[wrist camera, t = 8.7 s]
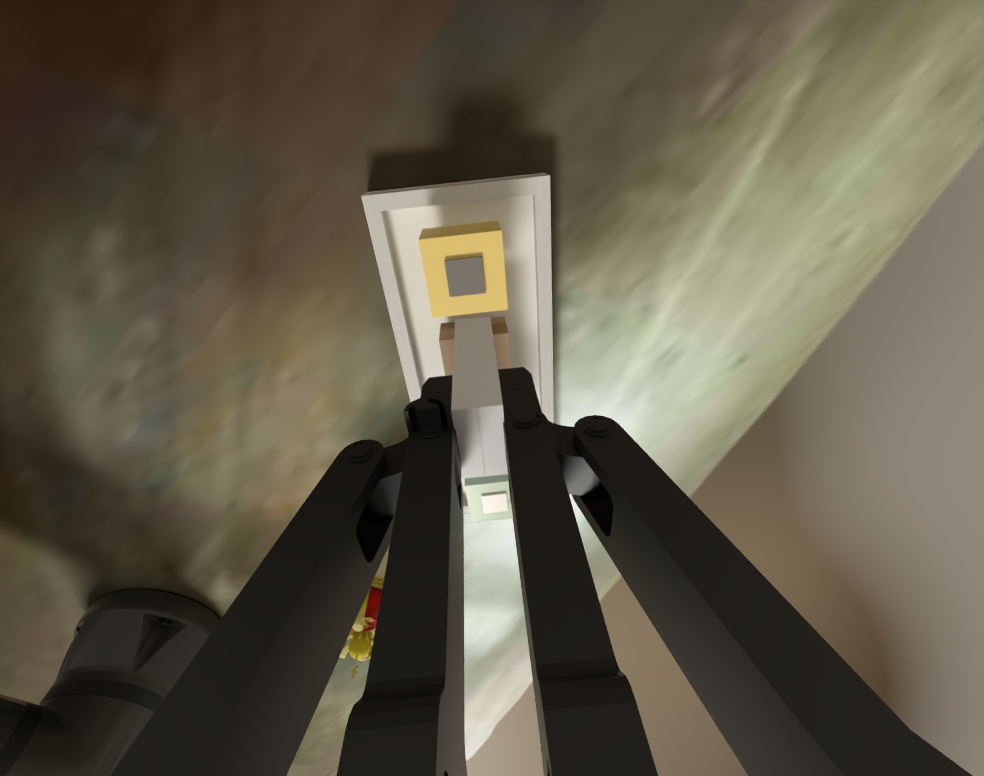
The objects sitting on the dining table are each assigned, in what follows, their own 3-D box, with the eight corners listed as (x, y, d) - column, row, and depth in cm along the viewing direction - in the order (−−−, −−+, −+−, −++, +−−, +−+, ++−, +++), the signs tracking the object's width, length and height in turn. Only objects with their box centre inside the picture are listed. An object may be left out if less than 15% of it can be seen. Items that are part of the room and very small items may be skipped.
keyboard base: (439, 501, 44) (438, 516, 42) (367, 192, 28) (361, 196, 26) (551, 488, 44) (554, 503, 42) (544, 172, 28) (550, 175, 26)
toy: (365, 492, 42) (325, 647, 30) (428, 515, 45) (415, 667, 32) (339, 533, 45) (292, 690, 33) (399, 552, 48) (377, 705, 35)
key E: (470, 498, 41) (471, 524, 38) (464, 462, 38) (464, 487, 36) (518, 493, 41) (522, 518, 38) (515, 456, 38) (519, 481, 36)
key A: (434, 301, 29) (432, 319, 26) (422, 228, 26) (417, 240, 23) (503, 293, 29) (508, 310, 26) (497, 220, 26) (502, 231, 23)
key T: (450, 378, 33) (449, 400, 31) (440, 323, 31) (438, 342, 28) (508, 371, 33) (513, 392, 31) (504, 316, 31) (508, 334, 28)
